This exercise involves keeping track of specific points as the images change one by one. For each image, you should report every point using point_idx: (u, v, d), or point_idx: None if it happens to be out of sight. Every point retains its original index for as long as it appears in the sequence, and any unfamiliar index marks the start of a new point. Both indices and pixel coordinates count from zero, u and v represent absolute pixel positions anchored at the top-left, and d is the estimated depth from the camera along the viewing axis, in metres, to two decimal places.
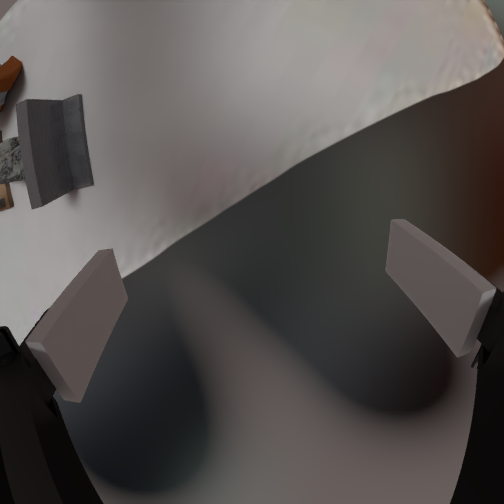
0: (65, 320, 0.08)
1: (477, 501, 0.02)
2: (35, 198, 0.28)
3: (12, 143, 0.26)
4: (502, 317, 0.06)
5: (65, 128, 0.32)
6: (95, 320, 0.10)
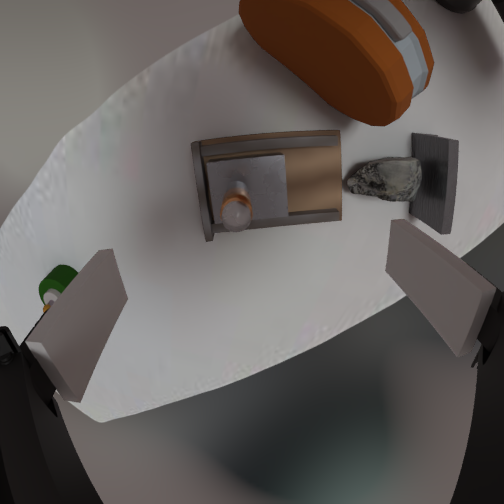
0: (65, 320, 0.08)
1: (477, 501, 0.02)
2: (447, 226, 0.35)
3: (416, 166, 0.34)
4: (502, 317, 0.06)
5: None
6: (95, 320, 0.10)
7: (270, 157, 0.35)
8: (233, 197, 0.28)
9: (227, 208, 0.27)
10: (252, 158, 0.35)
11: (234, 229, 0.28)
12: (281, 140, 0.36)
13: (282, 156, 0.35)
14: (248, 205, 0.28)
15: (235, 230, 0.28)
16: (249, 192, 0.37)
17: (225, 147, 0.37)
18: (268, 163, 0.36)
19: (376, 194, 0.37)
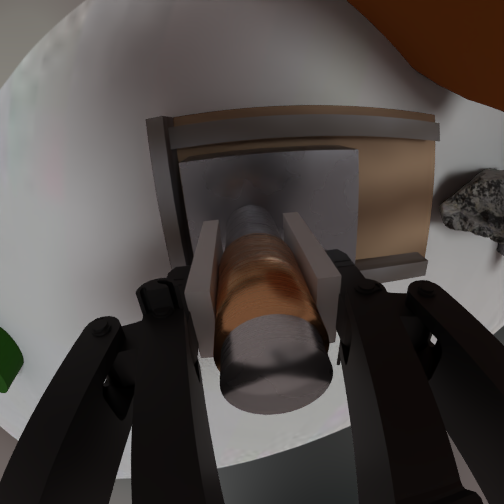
0: (213, 274, 0.10)
1: None
2: None
3: None
4: (350, 314, 0.07)
5: None
6: None
7: (329, 153, 0.15)
8: (262, 293, 0.07)
9: (244, 359, 0.06)
10: (288, 153, 0.15)
11: (266, 410, 0.07)
12: (344, 119, 0.16)
13: (354, 152, 0.15)
14: (319, 326, 0.07)
15: (270, 411, 0.07)
16: (278, 231, 0.17)
17: (224, 128, 0.16)
18: (323, 166, 0.15)
19: (493, 234, 0.17)
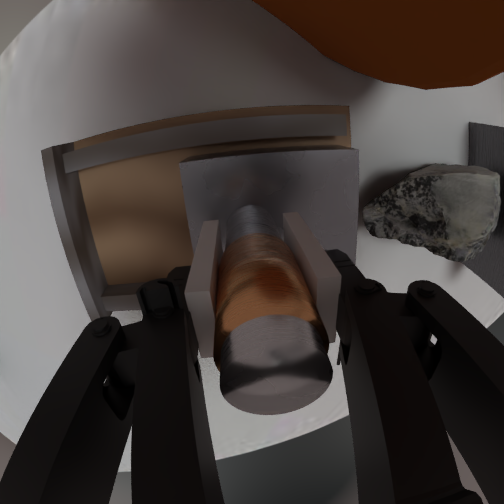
0: (213, 274, 0.10)
1: None
2: None
3: None
4: (351, 314, 0.07)
5: None
6: None
7: (329, 153, 0.15)
8: (262, 294, 0.07)
9: (244, 359, 0.06)
10: (288, 153, 0.15)
11: (265, 410, 0.07)
12: (217, 125, 0.16)
13: (354, 152, 0.15)
14: (319, 326, 0.07)
15: (270, 412, 0.07)
16: (278, 231, 0.17)
17: (103, 150, 0.16)
18: (323, 166, 0.15)
19: (424, 243, 0.16)
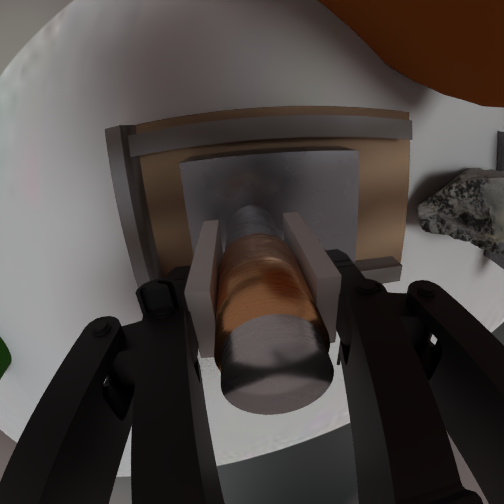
0: (213, 274, 0.10)
1: None
2: None
3: None
4: (351, 314, 0.07)
5: None
6: None
7: (329, 154, 0.15)
8: (263, 293, 0.07)
9: (245, 359, 0.06)
10: (289, 154, 0.15)
11: (266, 410, 0.07)
12: (304, 120, 0.16)
13: (354, 153, 0.15)
14: (320, 326, 0.07)
15: (271, 411, 0.07)
16: (278, 232, 0.17)
17: (180, 134, 0.16)
18: (323, 167, 0.15)
19: (473, 238, 0.17)
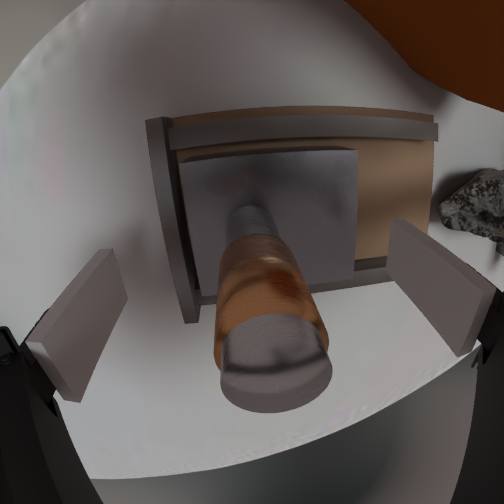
0: (65, 320, 0.08)
1: (477, 500, 0.02)
2: None
3: None
4: (502, 317, 0.06)
5: None
6: (95, 320, 0.10)
7: (328, 153, 0.15)
8: (262, 293, 0.08)
9: (244, 357, 0.06)
10: (288, 154, 0.15)
11: (265, 408, 0.07)
12: (343, 120, 0.16)
13: (353, 153, 0.15)
14: (319, 325, 0.07)
15: (270, 410, 0.07)
16: (278, 232, 0.17)
17: (223, 129, 0.16)
18: (322, 167, 0.15)
19: (492, 234, 0.17)
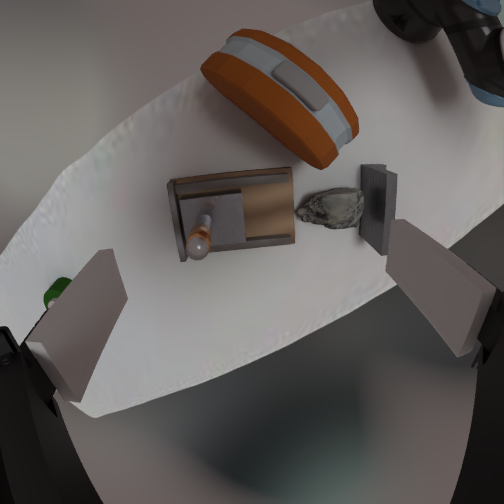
0: (65, 320, 0.08)
1: (477, 501, 0.02)
2: (387, 248, 0.45)
3: (357, 197, 0.44)
4: (502, 317, 0.06)
5: None
6: (95, 320, 0.10)
7: (230, 195, 0.45)
8: (195, 233, 0.38)
9: (190, 243, 0.36)
10: (215, 196, 0.45)
11: (195, 258, 0.37)
12: (240, 179, 0.46)
13: (240, 194, 0.45)
14: (206, 240, 0.37)
15: (196, 259, 0.37)
16: (214, 223, 0.47)
17: (194, 186, 0.46)
18: (228, 200, 0.45)
19: (320, 223, 0.47)
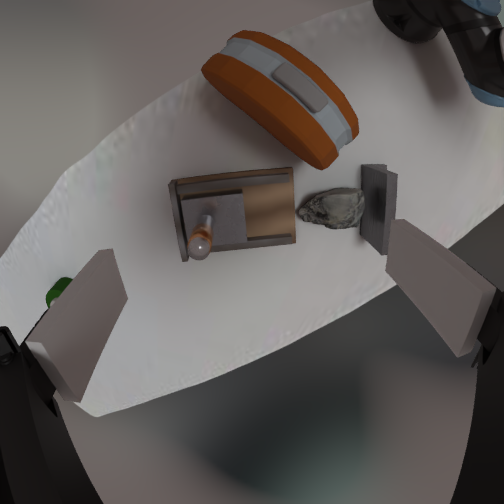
0: (65, 320, 0.08)
1: (477, 501, 0.02)
2: (387, 248, 0.46)
3: (358, 197, 0.44)
4: (502, 317, 0.06)
5: None
6: (95, 320, 0.10)
7: (231, 195, 0.45)
8: (197, 234, 0.38)
9: (191, 243, 0.36)
10: (217, 196, 0.45)
11: (197, 258, 0.37)
12: (241, 180, 0.46)
13: (241, 194, 0.45)
14: (207, 240, 0.38)
15: (198, 259, 0.37)
16: (215, 223, 0.47)
17: (196, 186, 0.46)
18: (229, 200, 0.46)
19: (321, 223, 0.47)
